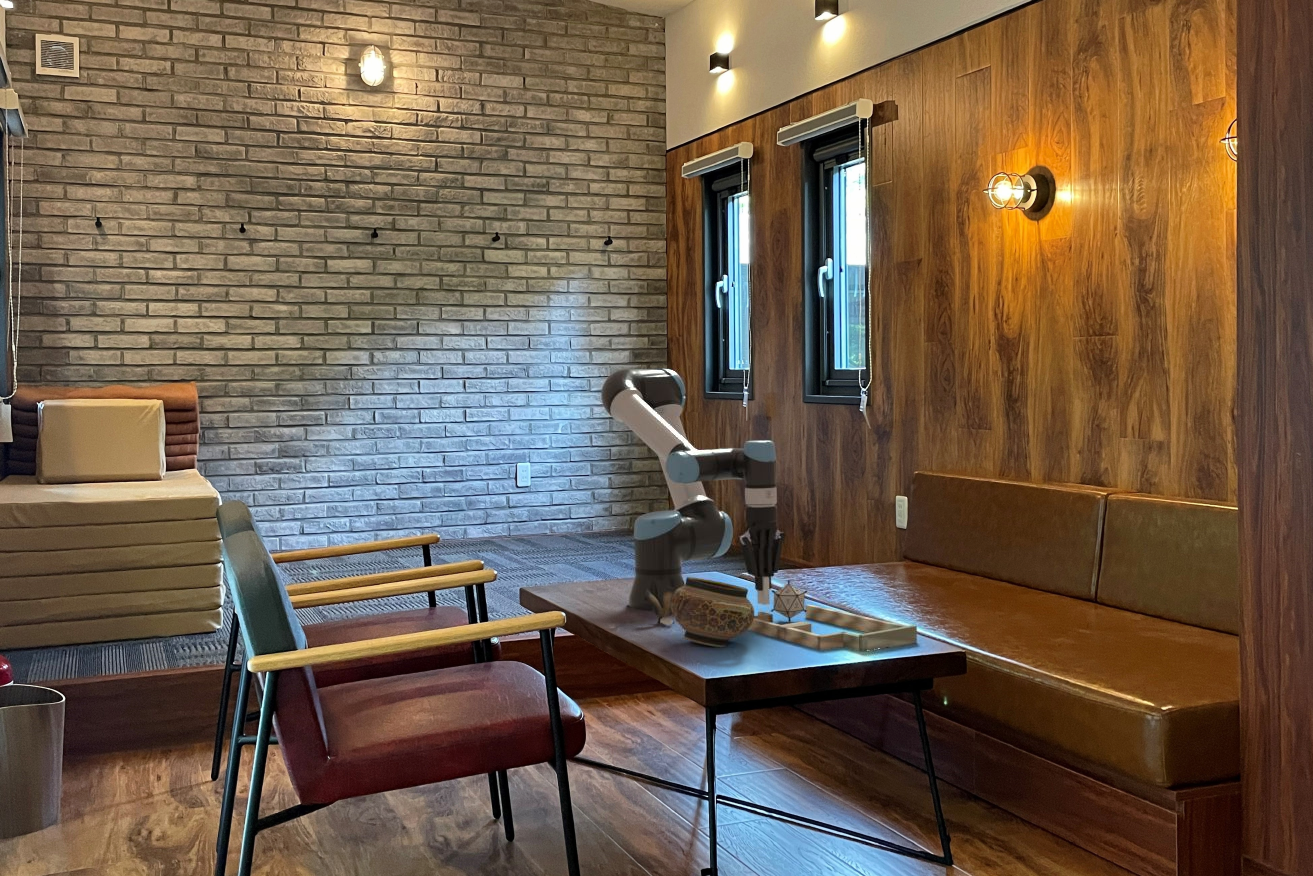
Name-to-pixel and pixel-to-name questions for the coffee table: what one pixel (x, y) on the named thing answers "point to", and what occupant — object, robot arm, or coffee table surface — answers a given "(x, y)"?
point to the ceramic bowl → (711, 611)
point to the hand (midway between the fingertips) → (763, 603)
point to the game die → (789, 601)
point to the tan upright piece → (666, 607)
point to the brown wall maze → (877, 636)
